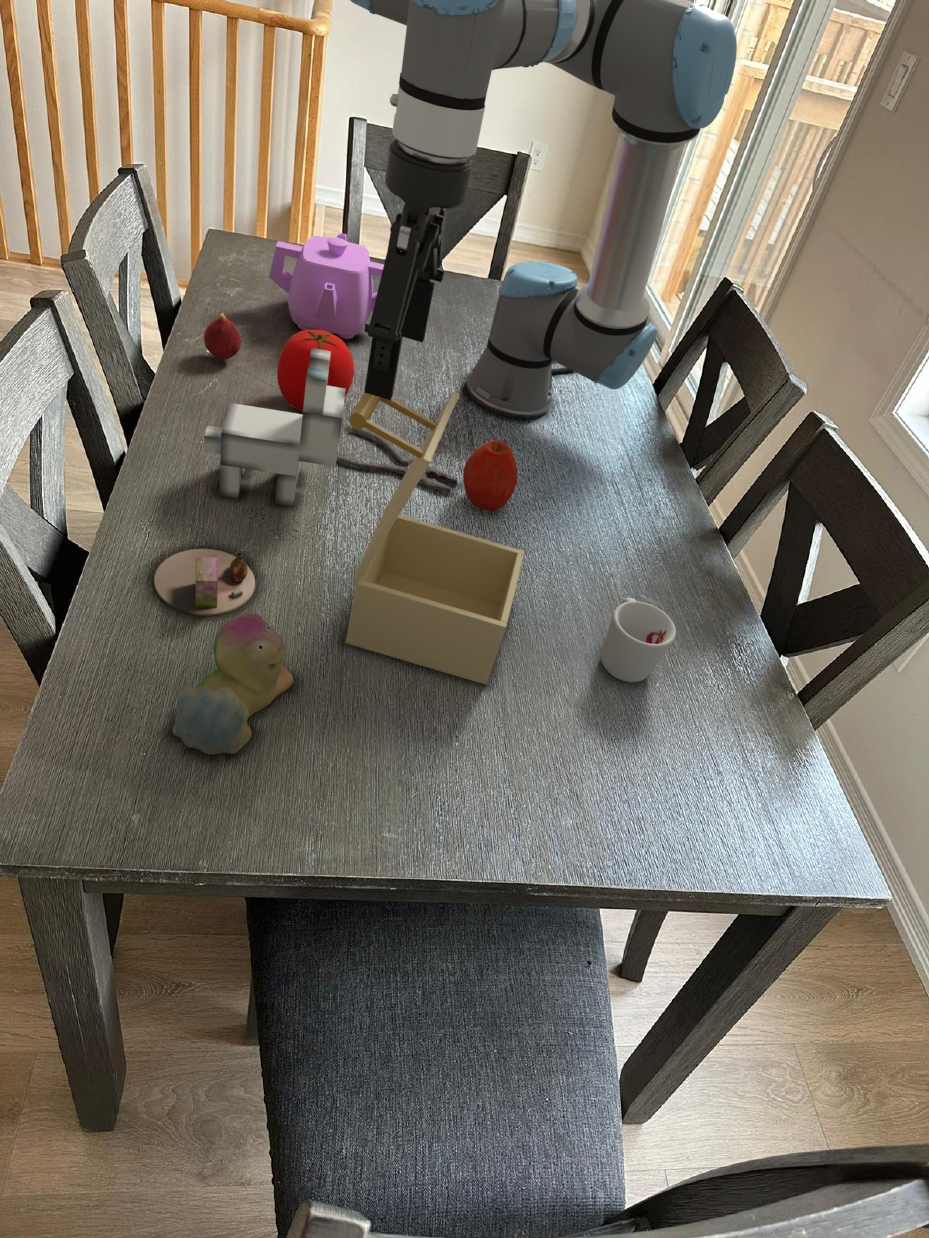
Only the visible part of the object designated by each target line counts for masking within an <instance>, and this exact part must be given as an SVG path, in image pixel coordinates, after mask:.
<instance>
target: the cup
mask: <svg viewBox="0 0 929 1238" xmlns="http://www.w3.org/2000/svg"><path fill="white" fill-rule="evenodd" d="M676 635H677V631H676V627H675V624H674V622H673V620H672V619H671V618H670V616H669V615H668V614H667V613H666V612H664V611H663V610H662V609H661V608H659V607H657V606H655V605H653V604H651V603H649V602H648V603H647V602H644V601H638V600H636V599H635V598H634V597H625V598H624V599H622V601H621V602H620V604H619V605H618V606H617V607H616V608H615V609H614V611H613V613H612V617H611V620H610V623H609V626H608V630H607V632H606V636H605V640H604V643H603V646H602V651H601V662H602V665H603V667H604V669H605V670H606V671H607V672H608V673H609V674H610V675H611V676H612V677H613V678H616V679H618V680H619V681H623V682H627V683H637V682H641V681H644V680H645V679H647V678H648V677H649V676H650V675H651V673H652V672H653V671H654V670H655V668H656V667H657V665H658V664H659V662H660V661H661V659H662V658H663V657H664V656H665V654H666V653H667V651H668V649H669V648H670V647H671V646H672V644H673V643H674V642H675V639H676Z"/></svg>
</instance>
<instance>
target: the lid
mask: <svg viewBox="0 0 929 1238" xmlns="http://www.w3.org/2000/svg"><path fill="white" fill-rule="evenodd" d="M459 397H460V395H459V394H458V393H457V392H455V391H452V392H451V393H450V395H449V397H448V399H447V401H446V402H445V405H444V406H443V408H442V409H441V412H440V413H439V415H438V416H437V418H436V420H435V421H434V420H432V419H431V418H428V417H427V416H425V415H423V414H422V413H420V412H418V411H416V410H414V409H413V408H411V407H409V406H407V405H406V404H405V403H402V402H401V401H400V400H398V399H395V398H394V397H392V398H391V400H388V399H384V398H381V397H378V396H374V395H371V394H367V393H364V392H363V393H362V395H361V397H360V399H359V400H358V402H357V404H356V406H355V407H354V409H353V410H352V412H351V413H350V415H349V417H348V421H349V424H350V426H351V427H354V428H356V429H364V428H365V430H367V431H369V432H371V433H374V434H376V435H378V436H380V437H381V438H383V439H384V440H386V441H387V442H389V443H391V444H392V445H395V446H396V447H398V448H401V449H402V450H403V451H406V452H407V453H409V454H411V455H412V456H414V458H413V459H412V460H413V462H412V463H411V465H410V467H409V469H408V470H407V472H406V474H405V476H403V477H402V479H401V481H400V483H399V484H398V486H397V488H396V490H395V491H394V493H393V495H392V497H391V498H390V500H389V502H388V503H387V505H386V507H385V509H384V511H383V513H382V516H381V518H380V519H379V522H378V524H377V527H376V528H375V531H374V533H373V534H372V537H371V539H370V541H369V543H368V545H367V548H366V550H365V551H364V553H363V556H362V558H361V560H360V563H359V565H358V567H357V569H356V571H355V574H354V575H353V579H354V580H356V581H357V580H358V581H360V580H361V578H362V576H363V575H364V573H365V571H366V570H367V568H368V566H369V565H370V563H371V561H372V560H373V558H374V556H375V555H376V553H377V551H378V550H379V548H380V546H381V544H382V543H383V541H384V539H385V538H386V536H387V534H388V533H389V531H390V529H391V528H392V526H393V524H394V523H395V521H396V519H397V518H398V516H399V514H400V515H401V513H402V511H403V509H404V508H405V506H406V504H407V502H408V501H409V500H410V497H411V496H412V494H413V492H414V491H415V489H416V487H417V485H418V484H419V481H420V479H421V477H422V475H423V474H424V472H425V470H426V469H427V467H428V466H429V465H430V464H431V462H432V460H433V458H434V454H435V452H436V451H437V448H438V445H439V443H440V441H441V439H442V436H443V434H444V432H445V429H446V427H447V424H448V422H449V419H450V417H451V415H452V413H453V411H454V408H455V406H456V403H457V401H458V399H459ZM380 402H382V403H384V404H385V405H387V406H389V407H390V408H393V409H394V410H396V411H398V412H399V413H401V414H403V415H404V416H407V417H408V418H409V419H412V420H414V421H415V422H417V423H419V424H420V425H422V426H424V427H426V428H427V429H429V432H428V434H427V436H426V438H425V439H424V441H423V442H422V444H421V445H420V447H418V446H417V445H415V444H413V443H411V442H409V441H408V440H407V439H404V438H402V437H400V436H399V435H397V434H395V433H394V432H391V431H390V430H389V429H386V428H384V427H383V426H381V425H379V424H378V423H376V422H374V421H372V420H370V419H371V416H372V415H373V413H374V412H375V409H376V408H377V406H378V404H379V403H380Z"/></svg>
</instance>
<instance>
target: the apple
mask: <svg viewBox="0 0 929 1238" xmlns="http://www.w3.org/2000/svg"><path fill="white" fill-rule="evenodd" d="M462 471H463V473H462V478H463V479H462V482H463V485H464V486H463V487H464V491H465V494H466V497H467V499H468V501H469V503H470V505H472V506H473V507H474V508H476V509H479V510H481V511H485V512H489V513H492V512H497V511H499V510H500V509H502V508H503V507H504V506H506V504H507V503H508V502H509V501H510V499H511V498H512V496H513V494H514V493H515V491H516V487H517V485H518V479H519V477H518V476H519V473H518V472H519V471H518V464H517V460H516V458H515V454H514V452H513V451H512V448H510V446H508V445H507V444H505V442H502V441H500V440H495V439H492V440H489V441H487V442H484V443H483V444H482V445H480V446H479V447H477V448H476V449H475V450H474V451H473V452H471V454H470V456H468V458H467V460H466V461H465V464H464V467H463V470H462Z"/></svg>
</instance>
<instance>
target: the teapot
mask: <svg viewBox="0 0 929 1238" xmlns="http://www.w3.org/2000/svg"><path fill="white" fill-rule="evenodd" d="M347 237H348V234H346V233H343V232H338V233H337V235H336V236H335V237H333V236H332V237H327V236H321V235H312V236H311V237H309V238H308V239H307V240H306V242H305V244H304V245H303V246H302V245H298V244H293V243H288V242H284V241H280V240H277V242H276V245H275V249H274V253H273V258H272V261H271V266H270V270H269V275H268V278H269V279H270V280H271V281H272V282H274V283H275V284H276V285H277V286H278V287H279V288H281V289H282V290H283V291H284V292H286V293H287V295H288V297H287V302H288V310H289V315H290V317H291V319H292V321H293V323H294V324H296V325H297V327H298V328H299V330H302V331H304V330H306V329H307V330H323V331H327V332H329V333H333V334H337V336H338V337H339V338H342V339H345V340H346V339H347V340H350V339H353V338H354V337H355V336H356V335H359V333H360V332H361V331H362V330H363V328H365V324H367V322H368V320H369V318H370V317H371V314H372V312H373V309H374V305H375V300H376V296H377V292H378V291H375V292H374V281H373V276H376V277H381V275H382V271H383V267H384V264H383V263H380V262H376V261H371V258H370V257H371V256H370V252H369V250H368V248H367V247H366V246H365V245H362V244H358V243H354V242H351V241H348V238H347ZM286 256H287V257H289V258H292V259H295V260H297V261H296V263H295V264H294V265H295V266H294V268H293V271H292V274H291V273H290V272H289V271H287V270H286V269H284V268H285V263H286V262H285V261H286Z"/></svg>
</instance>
